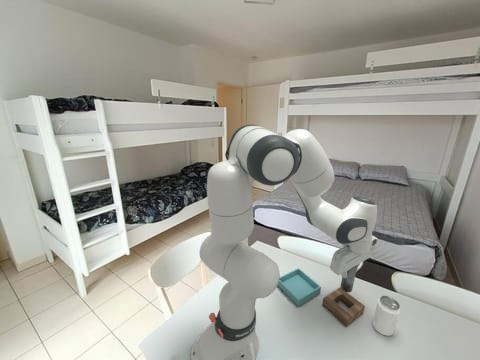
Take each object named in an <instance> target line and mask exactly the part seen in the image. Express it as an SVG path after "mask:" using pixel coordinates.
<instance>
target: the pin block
mask: <svg viewBox="0 0 480 360" xmlns="http://www.w3.org/2000/svg"><path fill="white" fill-rule="evenodd" d="M340 302H341V304H343V305H344V306H346V307H347V308H348V309H346V310H345V309H344V308H343V307H342V306H341V305H340V304H339V303H340ZM321 306H322V307H323V308H324V309H325V310H327V312H329V313H330V315H332V316H333V317H334V318H335V320H337V321H338V322H339V323H340V324H342V326H344V327H345V328H347V327H349V326H350V325H351V324H353V323H354V322H355V321H357V319H359V318H360V317H361V316H363V315H364V312H365V308H366V306H365V305H364V304H363V303H362V302H360V301H359V300H358V299H356V298H355V297H354V296H352V295H351V294H350V292H345V291H343V290H342V289H341V287H338V288H336V289H335V290H334V291H332V292H330V293H329V294H327V295H325V296H324V297H323V298H322V304H321Z"/></svg>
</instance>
